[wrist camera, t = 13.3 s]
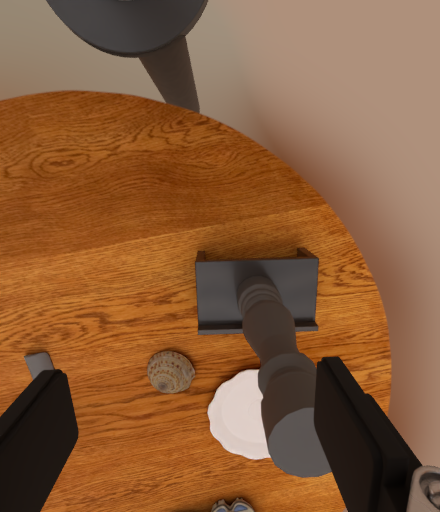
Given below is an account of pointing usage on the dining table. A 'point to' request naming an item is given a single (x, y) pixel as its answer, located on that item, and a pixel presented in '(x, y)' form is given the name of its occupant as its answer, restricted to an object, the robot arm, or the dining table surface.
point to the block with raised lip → (237, 270)
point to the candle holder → (282, 380)
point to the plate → (239, 416)
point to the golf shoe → (232, 506)
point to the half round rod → (38, 363)
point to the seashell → (170, 372)
